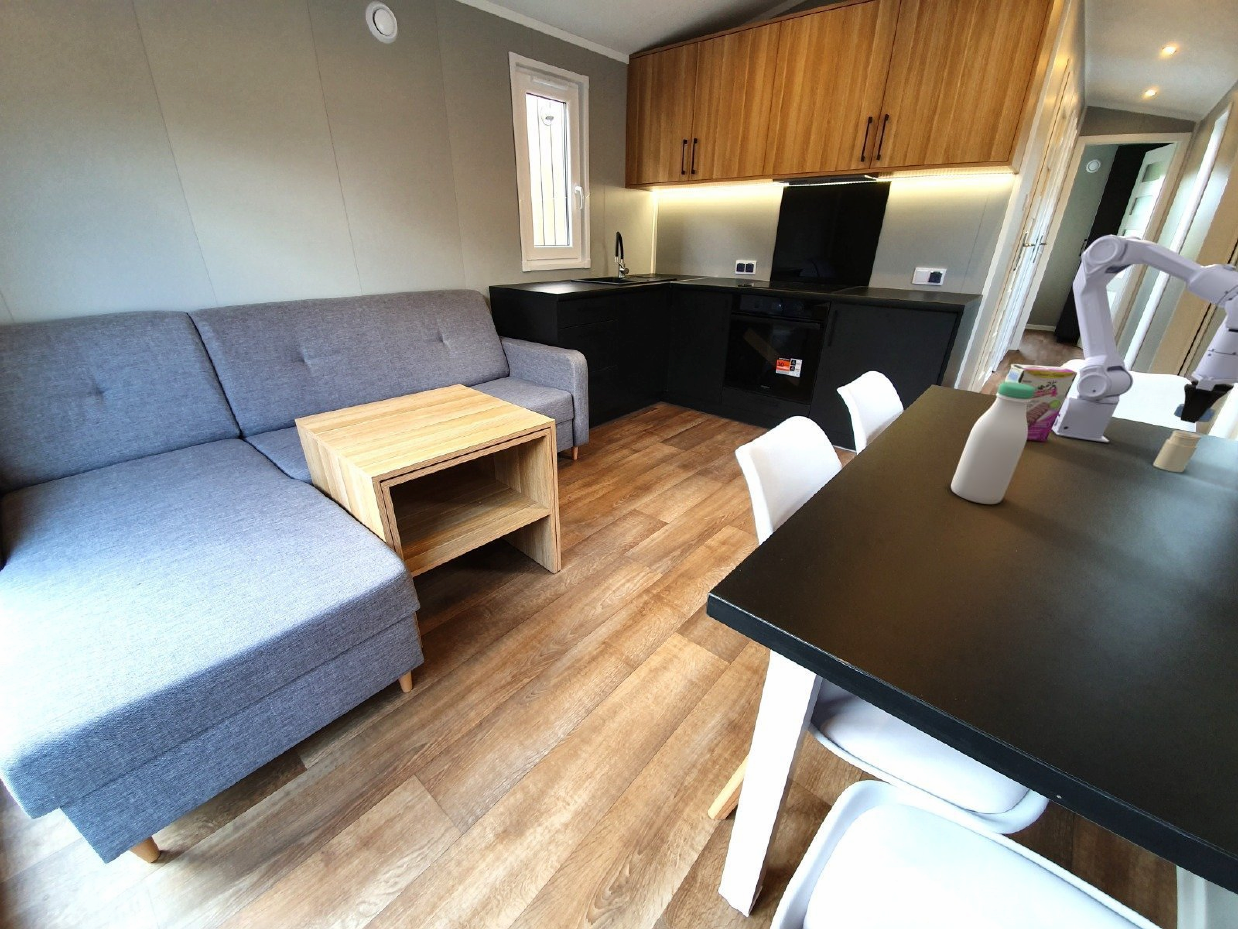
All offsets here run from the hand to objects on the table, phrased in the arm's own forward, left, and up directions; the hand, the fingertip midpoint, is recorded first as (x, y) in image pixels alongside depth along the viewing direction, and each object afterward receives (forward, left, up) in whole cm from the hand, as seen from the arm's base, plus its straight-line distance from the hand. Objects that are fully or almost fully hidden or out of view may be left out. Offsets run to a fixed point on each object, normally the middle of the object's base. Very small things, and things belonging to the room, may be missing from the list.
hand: (1190, 419), depth 100 cm
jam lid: (0, 0, +2) cm, 2 cm away
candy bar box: (-27, 0, -10) cm, 28 cm away
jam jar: (-2, -5, -9) cm, 11 cm away
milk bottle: (-41, -39, -10) cm, 57 cm away
